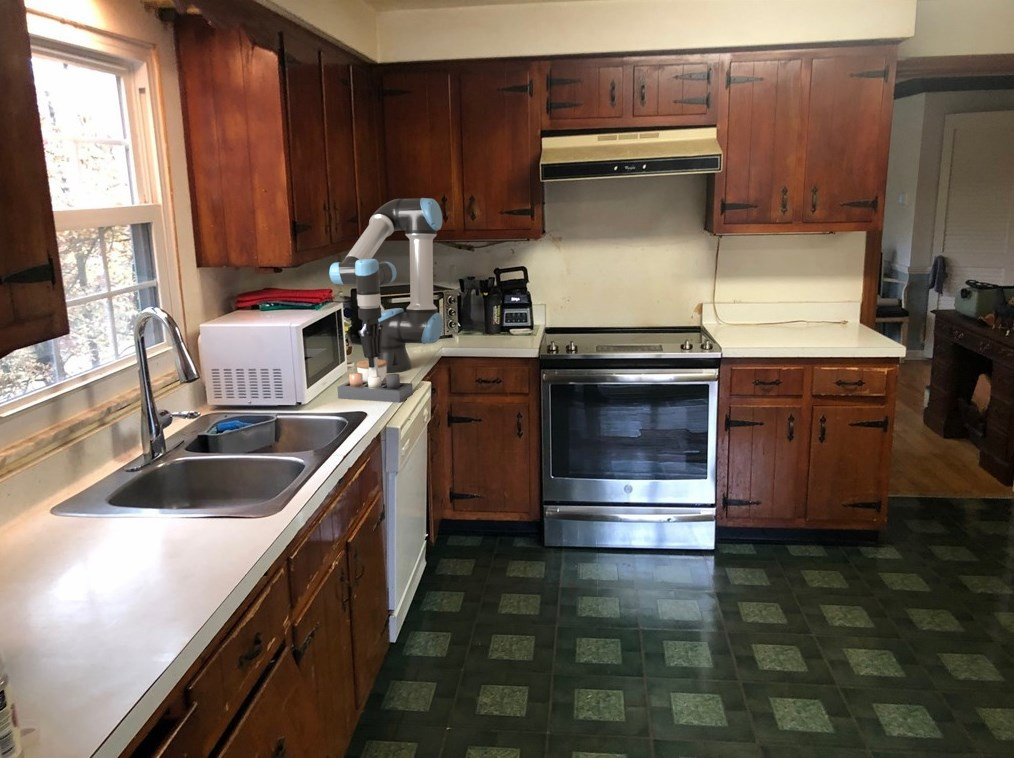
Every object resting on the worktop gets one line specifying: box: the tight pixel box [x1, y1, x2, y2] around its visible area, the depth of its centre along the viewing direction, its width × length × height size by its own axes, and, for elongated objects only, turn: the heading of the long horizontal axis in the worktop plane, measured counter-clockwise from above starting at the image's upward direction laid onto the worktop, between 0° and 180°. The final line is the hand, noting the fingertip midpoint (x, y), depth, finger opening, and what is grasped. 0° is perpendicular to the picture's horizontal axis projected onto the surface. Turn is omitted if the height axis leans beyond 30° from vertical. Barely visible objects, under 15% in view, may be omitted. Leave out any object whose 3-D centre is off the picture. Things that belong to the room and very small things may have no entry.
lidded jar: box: [356, 359, 387, 382], centre depth 286 cm, size 11×11×9 cm
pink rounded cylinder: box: [348, 372, 363, 387], centre depth 269 cm, size 4×4×5 cm
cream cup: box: [368, 376, 382, 388], centre depth 267 cm, size 4×4×5 cm
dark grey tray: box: [336, 380, 414, 403], centre depth 268 cm, size 10×23×4 cm, turn 71°
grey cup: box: [385, 373, 401, 389], centre depth 265 cm, size 4×4×5 cm
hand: (374, 376), depth 266 cm, fingers closed
